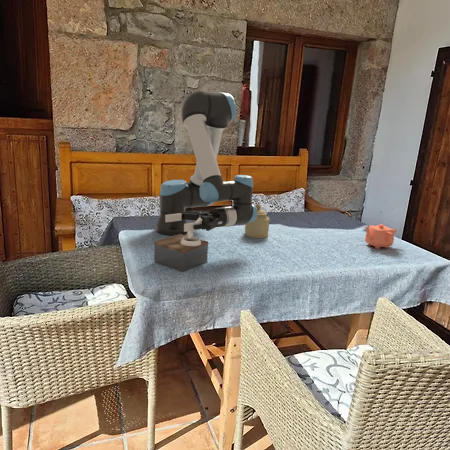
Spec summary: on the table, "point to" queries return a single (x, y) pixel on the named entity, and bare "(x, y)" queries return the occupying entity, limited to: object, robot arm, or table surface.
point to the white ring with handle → (191, 238)
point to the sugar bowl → (258, 225)
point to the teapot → (379, 236)
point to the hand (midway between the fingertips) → (174, 223)
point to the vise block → (179, 253)
